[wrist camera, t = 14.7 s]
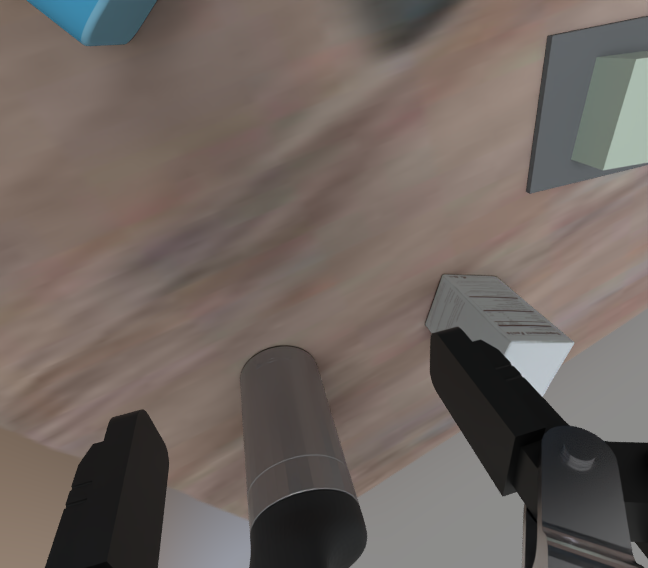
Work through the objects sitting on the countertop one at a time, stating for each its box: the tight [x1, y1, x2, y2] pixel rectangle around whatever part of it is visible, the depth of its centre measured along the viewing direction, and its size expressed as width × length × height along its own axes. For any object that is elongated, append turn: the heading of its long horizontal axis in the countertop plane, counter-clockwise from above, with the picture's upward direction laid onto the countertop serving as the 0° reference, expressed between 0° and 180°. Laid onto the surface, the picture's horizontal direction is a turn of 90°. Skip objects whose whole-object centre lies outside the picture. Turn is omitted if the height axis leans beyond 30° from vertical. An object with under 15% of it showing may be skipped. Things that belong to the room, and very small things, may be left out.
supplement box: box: [425, 274, 574, 397], centre depth 42 cm, size 7×7×13 cm
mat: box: [526, 16, 648, 194], centre depth 38 cm, size 14×14×1 cm
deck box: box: [571, 51, 648, 170], centre depth 36 cm, size 5×9×4 cm, turn 5°
